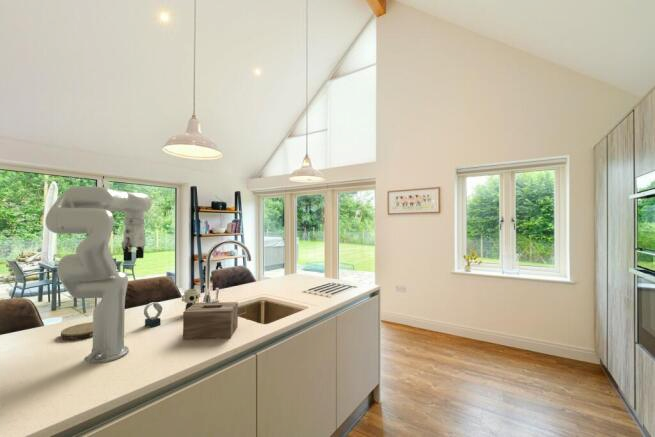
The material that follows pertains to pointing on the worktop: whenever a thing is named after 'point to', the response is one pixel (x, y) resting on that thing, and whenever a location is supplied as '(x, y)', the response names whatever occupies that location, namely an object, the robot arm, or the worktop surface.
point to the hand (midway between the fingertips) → (133, 259)
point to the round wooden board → (78, 332)
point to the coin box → (210, 320)
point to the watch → (153, 320)
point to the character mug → (190, 297)
